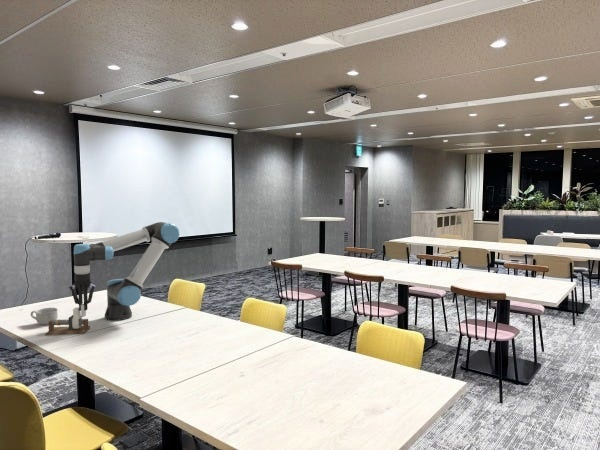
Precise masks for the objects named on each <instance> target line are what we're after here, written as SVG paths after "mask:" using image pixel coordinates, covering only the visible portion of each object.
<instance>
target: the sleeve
mask: <svg viewBox="0 0 600 450" xmlns="http://www.w3.org/2000/svg"><path fill="white" fill-rule="evenodd" d="M72 315H73V318H72V327H73V329H74V328H80V327H81V326H83V324H79V319H83V317H81V311H80V310H79V306H77V307H74V308H73V309H72Z"/></svg>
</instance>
